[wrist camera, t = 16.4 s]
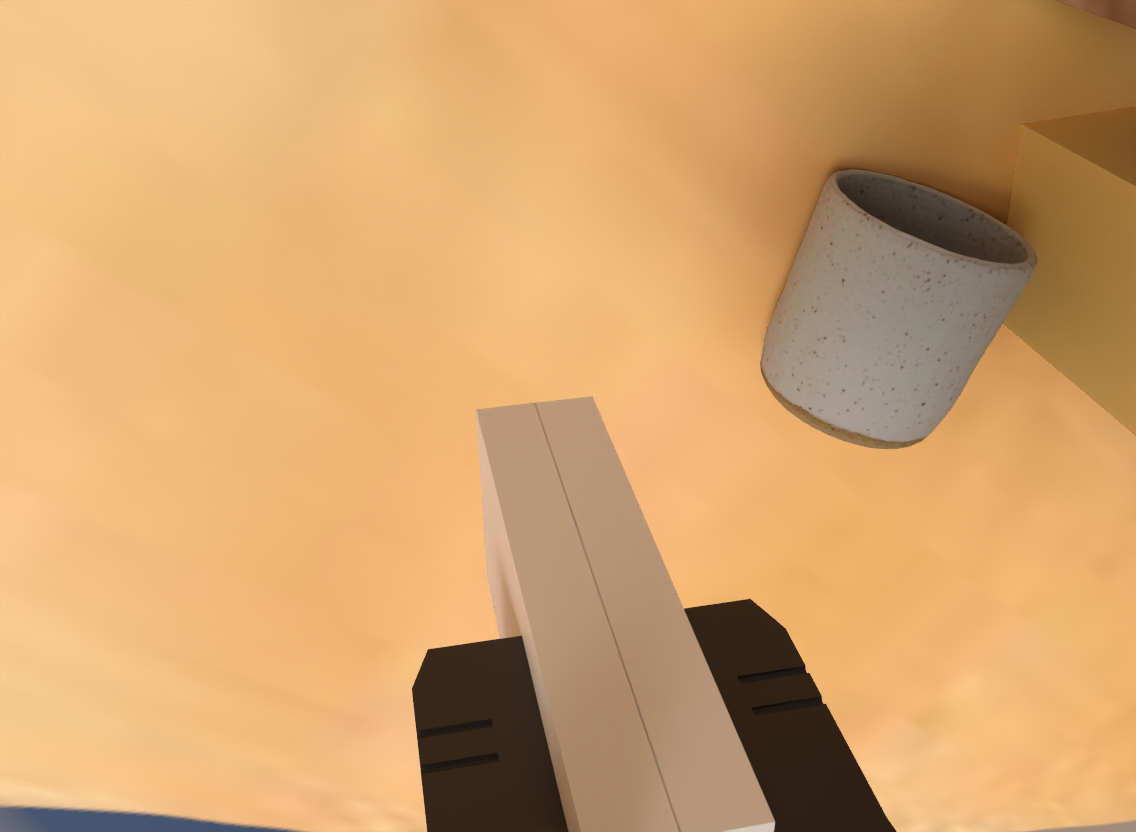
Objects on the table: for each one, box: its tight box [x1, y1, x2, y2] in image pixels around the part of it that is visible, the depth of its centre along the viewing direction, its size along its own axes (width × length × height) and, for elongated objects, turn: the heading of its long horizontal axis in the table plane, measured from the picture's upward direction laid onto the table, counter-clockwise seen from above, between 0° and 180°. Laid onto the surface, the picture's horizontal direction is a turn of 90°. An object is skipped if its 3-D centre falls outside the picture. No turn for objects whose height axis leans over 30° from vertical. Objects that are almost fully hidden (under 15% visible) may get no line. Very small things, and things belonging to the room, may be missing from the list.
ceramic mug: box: [760, 169, 1038, 449], centre depth 40 cm, size 11×8×8 cm
